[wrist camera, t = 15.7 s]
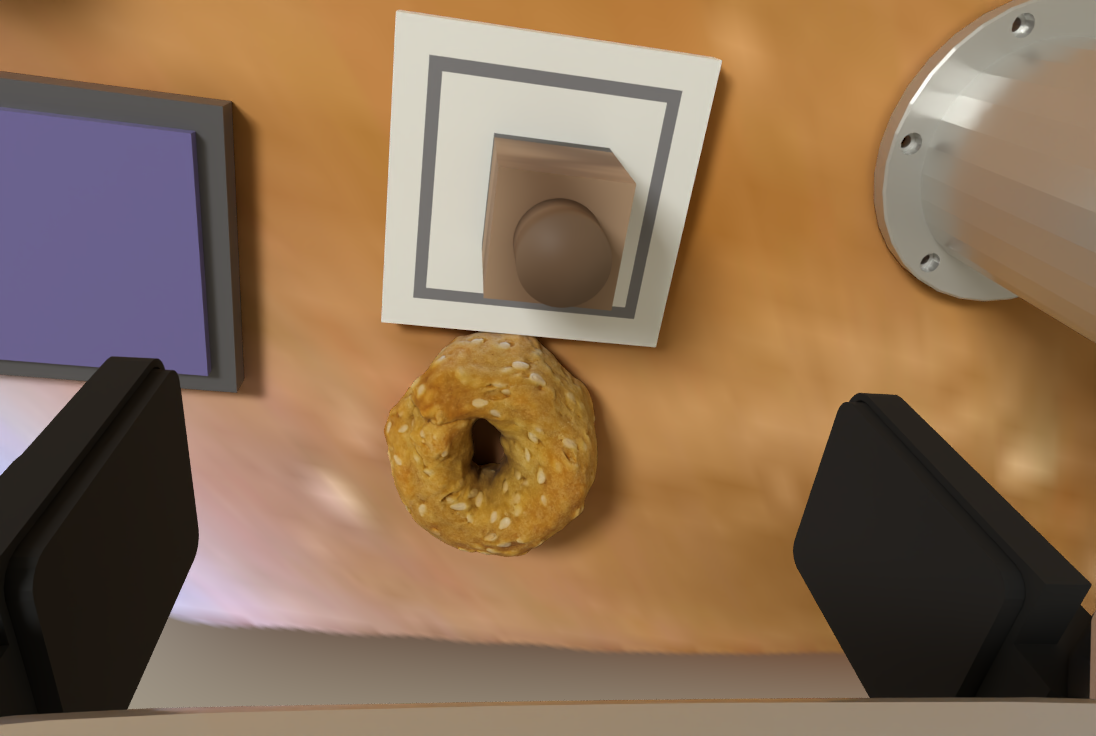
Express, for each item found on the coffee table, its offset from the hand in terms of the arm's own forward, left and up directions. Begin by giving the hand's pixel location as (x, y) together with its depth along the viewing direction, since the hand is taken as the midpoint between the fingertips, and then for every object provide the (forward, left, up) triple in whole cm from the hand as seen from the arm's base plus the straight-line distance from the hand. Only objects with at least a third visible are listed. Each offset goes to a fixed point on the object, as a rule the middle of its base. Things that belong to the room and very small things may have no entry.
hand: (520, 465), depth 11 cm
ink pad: (+16, +6, -22) cm, 28 cm away
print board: (-2, +2, -22) cm, 22 cm away
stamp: (-2, +2, -21) cm, 21 cm away
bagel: (-2, +13, -22) cm, 26 cm away
